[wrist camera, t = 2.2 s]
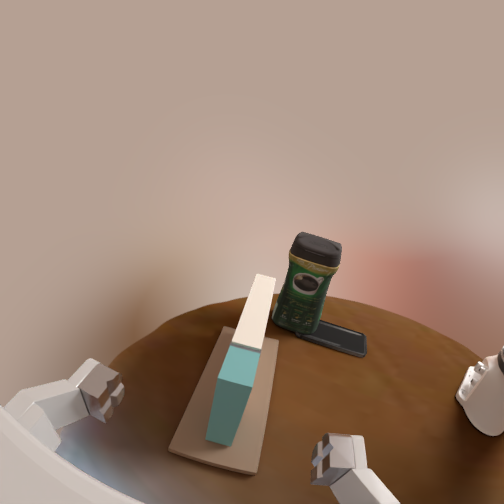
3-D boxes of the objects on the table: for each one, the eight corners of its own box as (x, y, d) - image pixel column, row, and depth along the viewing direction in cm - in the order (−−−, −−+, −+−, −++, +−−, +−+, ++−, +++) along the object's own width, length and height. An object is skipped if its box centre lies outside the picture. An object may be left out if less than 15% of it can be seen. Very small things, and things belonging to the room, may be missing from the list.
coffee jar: (318, 320, 57) (346, 240, 50) (312, 340, 50) (346, 252, 43) (276, 306, 59) (299, 225, 53) (266, 324, 52) (291, 234, 45)
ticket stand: (223, 330, 47) (236, 265, 43) (277, 344, 47) (298, 281, 42) (168, 451, 23) (166, 386, 19) (254, 475, 22) (290, 420, 18)
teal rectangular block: (215, 409, 30) (230, 342, 26) (239, 415, 29) (261, 351, 25) (204, 439, 25) (217, 377, 21) (231, 446, 25) (253, 387, 21)
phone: (302, 313, 57) (366, 334, 53) (300, 318, 57) (364, 338, 54) (294, 333, 50) (366, 356, 46) (293, 337, 50) (364, 360, 46)
